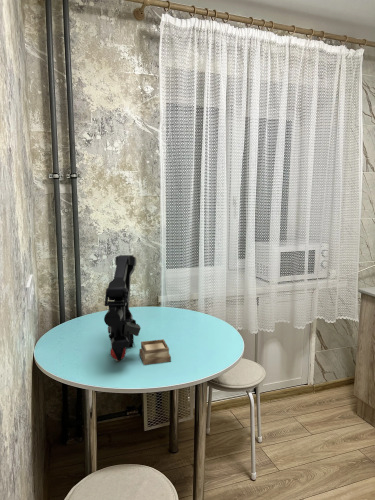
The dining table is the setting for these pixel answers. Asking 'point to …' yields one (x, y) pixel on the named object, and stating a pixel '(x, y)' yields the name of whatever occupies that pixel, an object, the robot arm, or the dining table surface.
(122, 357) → the pomegranate
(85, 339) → the dining table surface
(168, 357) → the pedestal
